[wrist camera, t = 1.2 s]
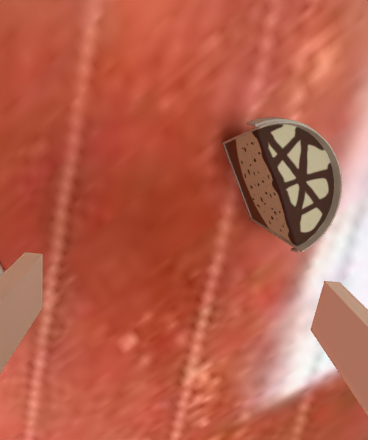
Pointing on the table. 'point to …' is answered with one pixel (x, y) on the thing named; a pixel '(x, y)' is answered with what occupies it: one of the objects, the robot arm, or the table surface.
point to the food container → (287, 179)
